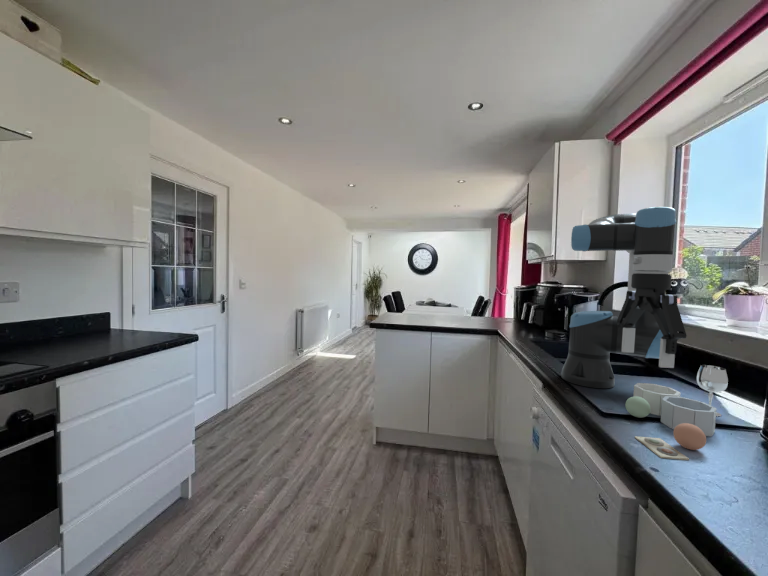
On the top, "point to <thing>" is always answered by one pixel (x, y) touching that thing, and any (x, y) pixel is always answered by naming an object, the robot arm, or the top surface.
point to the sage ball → (637, 406)
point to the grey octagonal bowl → (688, 413)
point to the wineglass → (712, 380)
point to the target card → (661, 448)
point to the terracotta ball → (689, 436)
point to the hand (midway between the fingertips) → (645, 359)
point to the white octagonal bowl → (654, 395)
